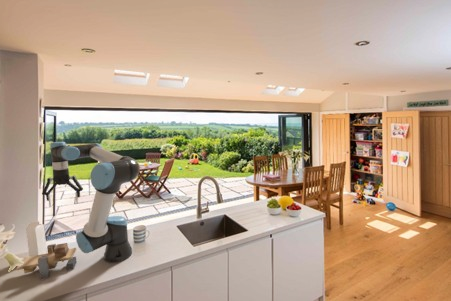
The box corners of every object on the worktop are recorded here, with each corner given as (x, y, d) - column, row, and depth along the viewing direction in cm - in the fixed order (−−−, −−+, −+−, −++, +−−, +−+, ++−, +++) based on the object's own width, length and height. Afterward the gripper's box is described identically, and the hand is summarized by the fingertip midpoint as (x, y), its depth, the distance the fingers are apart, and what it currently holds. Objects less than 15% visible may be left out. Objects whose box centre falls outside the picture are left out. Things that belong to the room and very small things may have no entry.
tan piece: (77, 256, 141) (75, 241, 140) (72, 267, 131) (70, 251, 130) (27, 266, 134) (24, 251, 133) (17, 279, 123) (14, 262, 122)
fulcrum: (57, 262, 140) (55, 243, 139) (48, 278, 126) (46, 257, 125) (50, 263, 139) (48, 245, 138) (40, 279, 125) (37, 259, 124)
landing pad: (76, 262, 140) (76, 256, 139) (73, 269, 133) (72, 263, 133) (70, 263, 139) (69, 257, 138) (67, 270, 132) (66, 264, 132)
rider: (68, 251, 137) (67, 242, 136) (66, 255, 132) (64, 247, 131) (58, 253, 135) (56, 244, 135) (55, 258, 131) (53, 249, 130)
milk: (38, 254, 150) (34, 219, 147) (47, 254, 149) (43, 219, 146) (29, 259, 144) (24, 223, 141) (39, 260, 143) (34, 223, 140)
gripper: (86, 165, 151) (89, 199, 153) (37, 169, 143) (41, 204, 145) (83, 168, 143) (87, 203, 146) (32, 171, 136) (36, 209, 138)
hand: (64, 204), depth 146 cm, fingers open, 13 cm apart
